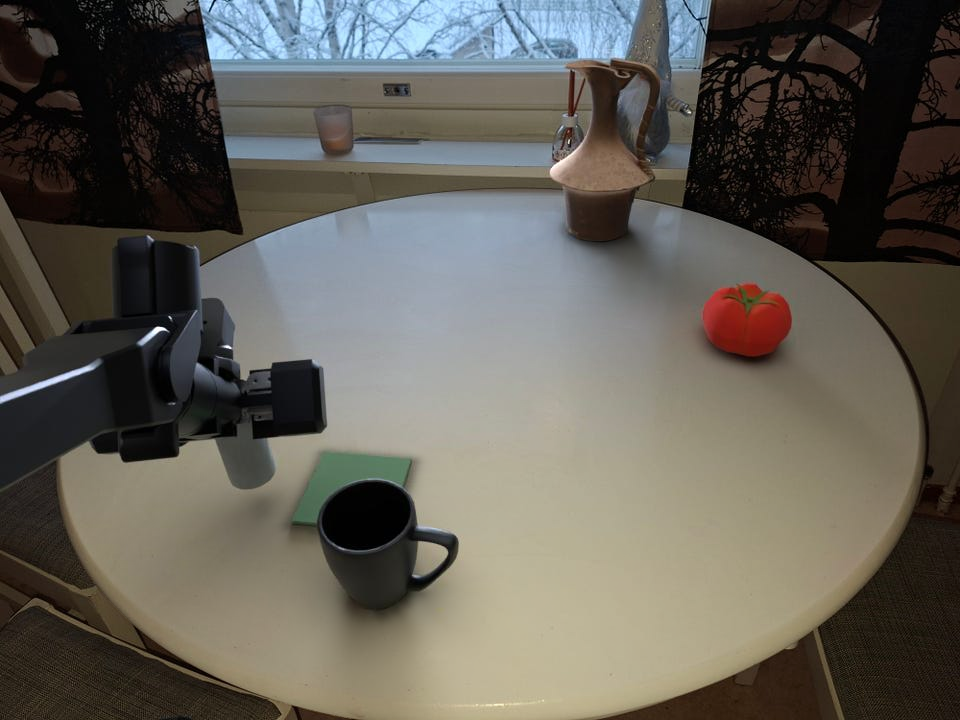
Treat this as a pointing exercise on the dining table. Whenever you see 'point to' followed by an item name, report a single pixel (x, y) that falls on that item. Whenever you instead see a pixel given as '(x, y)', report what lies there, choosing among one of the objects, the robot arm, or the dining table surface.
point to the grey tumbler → (246, 457)
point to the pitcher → (606, 155)
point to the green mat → (346, 478)
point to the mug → (377, 542)
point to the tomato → (746, 319)
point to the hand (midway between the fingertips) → (239, 414)
